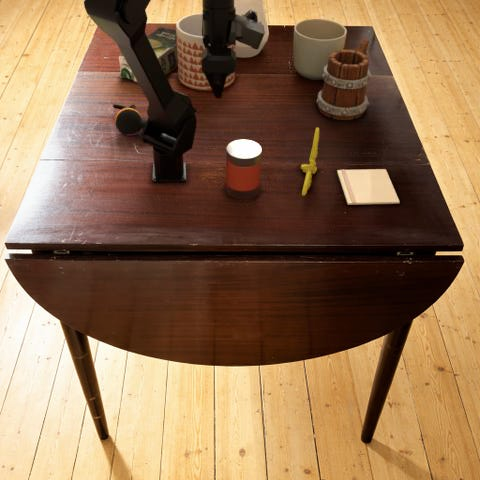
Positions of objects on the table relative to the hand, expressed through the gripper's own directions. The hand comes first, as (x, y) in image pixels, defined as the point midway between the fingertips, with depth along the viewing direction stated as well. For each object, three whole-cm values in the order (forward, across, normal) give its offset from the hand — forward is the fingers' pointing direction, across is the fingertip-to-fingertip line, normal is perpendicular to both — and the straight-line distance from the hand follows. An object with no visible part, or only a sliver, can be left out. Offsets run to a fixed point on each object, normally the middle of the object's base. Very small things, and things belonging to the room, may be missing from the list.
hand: (218, 86), depth 120 cm
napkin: (+12, -16, -29) cm, 35 cm away
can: (+12, -18, -4) cm, 22 cm away
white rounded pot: (+12, +45, -7) cm, 47 cm away
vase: (+12, +28, +2) cm, 31 cm away
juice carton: (+12, +34, +15) cm, 39 cm away
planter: (+12, +31, -24) cm, 42 cm away
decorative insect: (+12, -16, -17) cm, 26 cm away
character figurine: (+12, +6, +18) cm, 23 cm away
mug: (+12, +16, -29) cm, 35 cm away
